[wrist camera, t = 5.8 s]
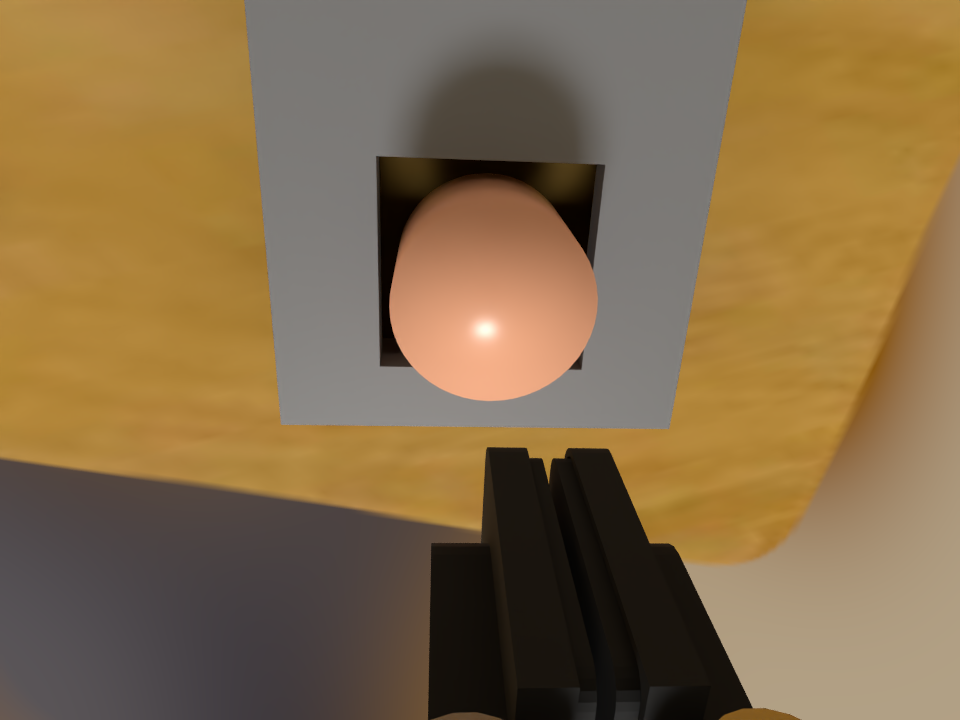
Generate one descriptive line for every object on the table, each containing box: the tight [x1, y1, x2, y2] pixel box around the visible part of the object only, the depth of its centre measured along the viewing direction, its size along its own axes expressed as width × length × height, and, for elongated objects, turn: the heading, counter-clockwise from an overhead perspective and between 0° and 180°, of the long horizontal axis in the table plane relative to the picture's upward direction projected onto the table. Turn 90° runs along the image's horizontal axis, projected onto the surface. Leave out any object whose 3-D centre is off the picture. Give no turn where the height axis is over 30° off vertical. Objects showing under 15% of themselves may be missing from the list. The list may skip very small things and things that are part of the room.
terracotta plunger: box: [389, 173, 598, 401], centre depth 18 cm, size 5×5×4 cm
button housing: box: [244, 0, 747, 429], centre depth 19 cm, size 22×12×4 cm, turn 177°
